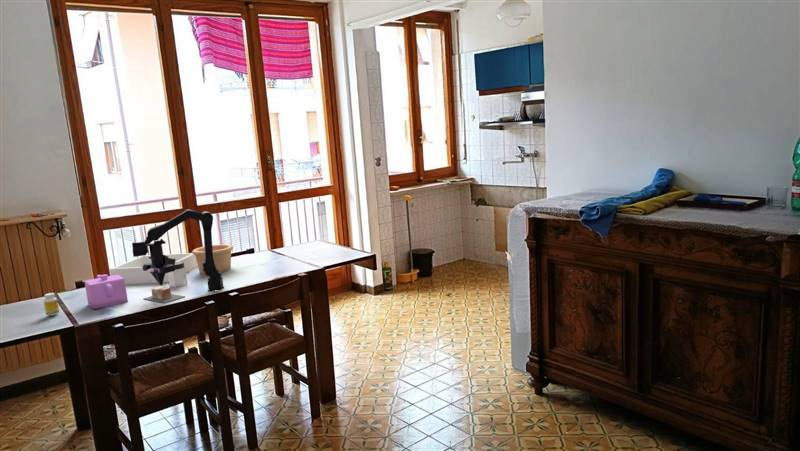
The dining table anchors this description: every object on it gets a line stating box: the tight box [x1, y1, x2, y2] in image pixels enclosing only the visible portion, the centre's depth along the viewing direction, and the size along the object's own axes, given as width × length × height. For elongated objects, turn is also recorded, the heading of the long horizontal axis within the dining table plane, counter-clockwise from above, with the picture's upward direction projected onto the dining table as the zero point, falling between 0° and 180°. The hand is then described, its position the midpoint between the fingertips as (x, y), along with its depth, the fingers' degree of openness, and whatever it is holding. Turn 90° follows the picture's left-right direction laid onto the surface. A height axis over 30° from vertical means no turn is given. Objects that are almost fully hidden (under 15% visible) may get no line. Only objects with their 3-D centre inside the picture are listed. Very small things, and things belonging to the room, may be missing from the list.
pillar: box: [150, 285, 172, 299], centre depth 282 cm, size 4×4×9 cm
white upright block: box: [168, 262, 188, 288], centre depth 305 cm, size 9×8×12 cm
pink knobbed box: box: [84, 274, 129, 310], centre depth 280 cm, size 15×25×14 cm, turn 38°
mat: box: [143, 293, 186, 304], centre depth 281 cm, size 18×11×1 cm, turn 55°
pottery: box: [191, 243, 234, 276], centre depth 328 cm, size 22×22×14 cm
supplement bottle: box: [43, 292, 60, 316], centre depth 267 cm, size 5×5×10 cm
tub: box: [109, 252, 198, 285], centre depth 330 cm, size 34×34×9 cm
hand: (161, 285), depth 281 cm, fingers closed
